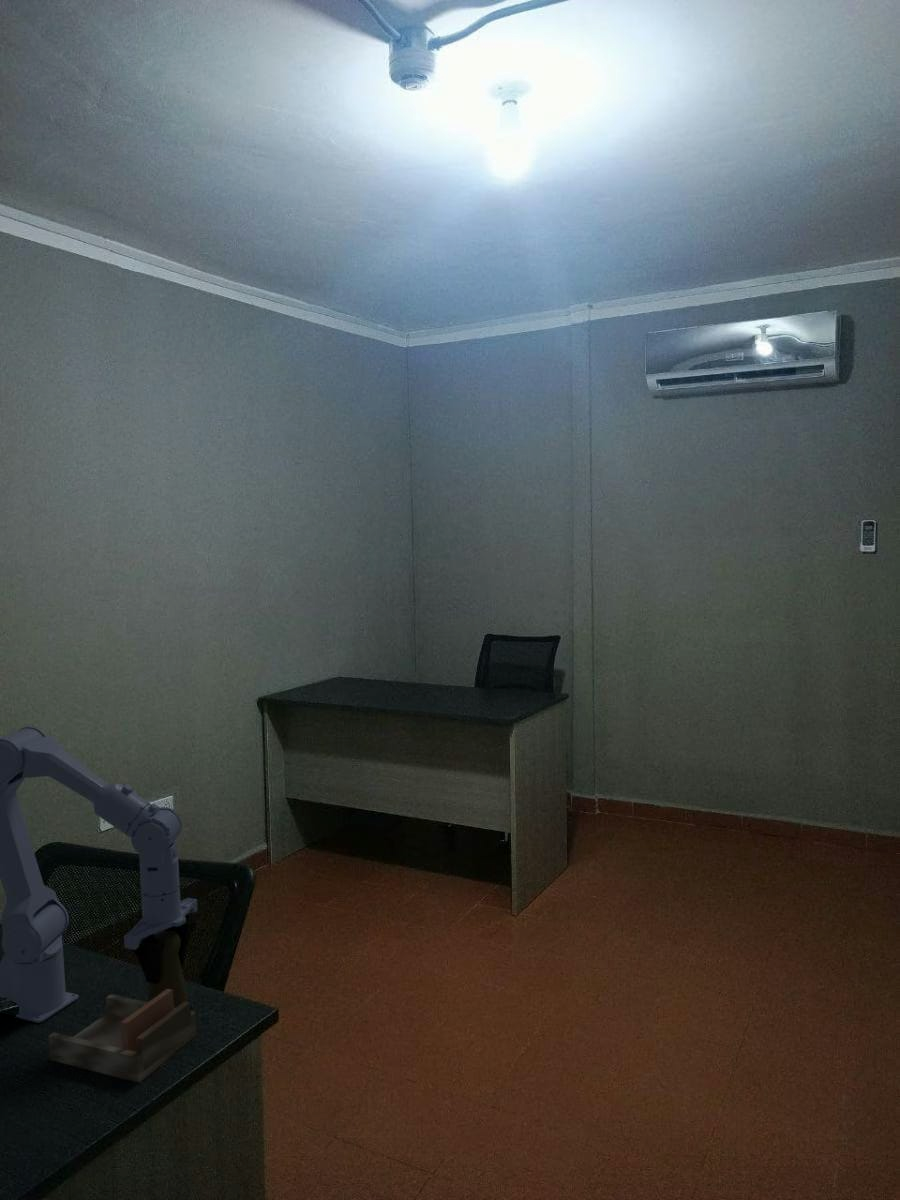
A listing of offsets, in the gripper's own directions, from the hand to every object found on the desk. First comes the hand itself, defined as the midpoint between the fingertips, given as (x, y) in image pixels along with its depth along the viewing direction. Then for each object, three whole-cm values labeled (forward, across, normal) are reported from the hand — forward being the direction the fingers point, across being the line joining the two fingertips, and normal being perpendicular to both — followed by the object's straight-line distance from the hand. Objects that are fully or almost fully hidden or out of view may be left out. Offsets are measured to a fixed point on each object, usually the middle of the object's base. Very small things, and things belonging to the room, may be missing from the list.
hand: (165, 973), depth 138 cm
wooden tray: (+5, -12, -2) cm, 13 cm away
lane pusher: (+4, -12, -7) cm, 14 cm away
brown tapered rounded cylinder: (+5, 0, 0) cm, 5 cm away
